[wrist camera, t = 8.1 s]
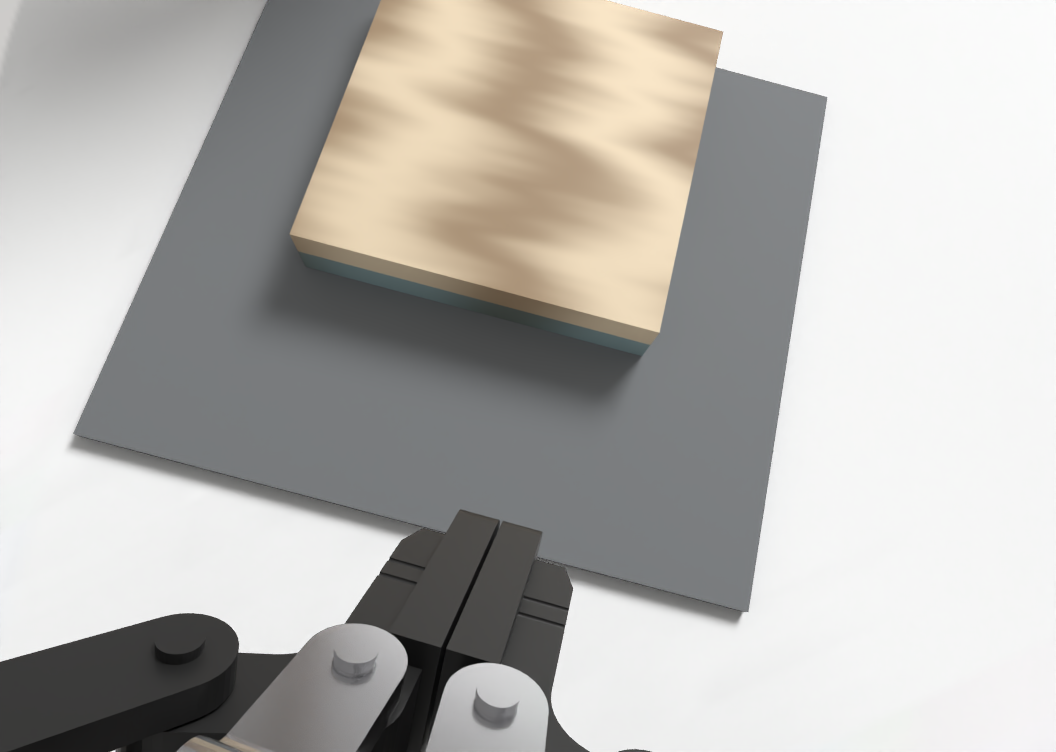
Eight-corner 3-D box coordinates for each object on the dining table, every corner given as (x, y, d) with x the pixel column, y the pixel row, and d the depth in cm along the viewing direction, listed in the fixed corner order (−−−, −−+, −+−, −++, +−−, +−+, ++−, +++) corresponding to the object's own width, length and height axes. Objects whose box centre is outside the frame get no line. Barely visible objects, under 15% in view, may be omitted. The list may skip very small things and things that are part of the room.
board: (642, 356, 25) (702, 76, 29) (659, 332, 23) (723, 31, 26) (305, 266, 25) (407, -3, 29) (289, 234, 23) (402, -55, 26)
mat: (822, 103, 29) (827, 97, 29) (743, 611, 23) (748, 612, 23) (291, -39, 29) (289, -47, 29) (79, 436, 23) (73, 433, 23)
